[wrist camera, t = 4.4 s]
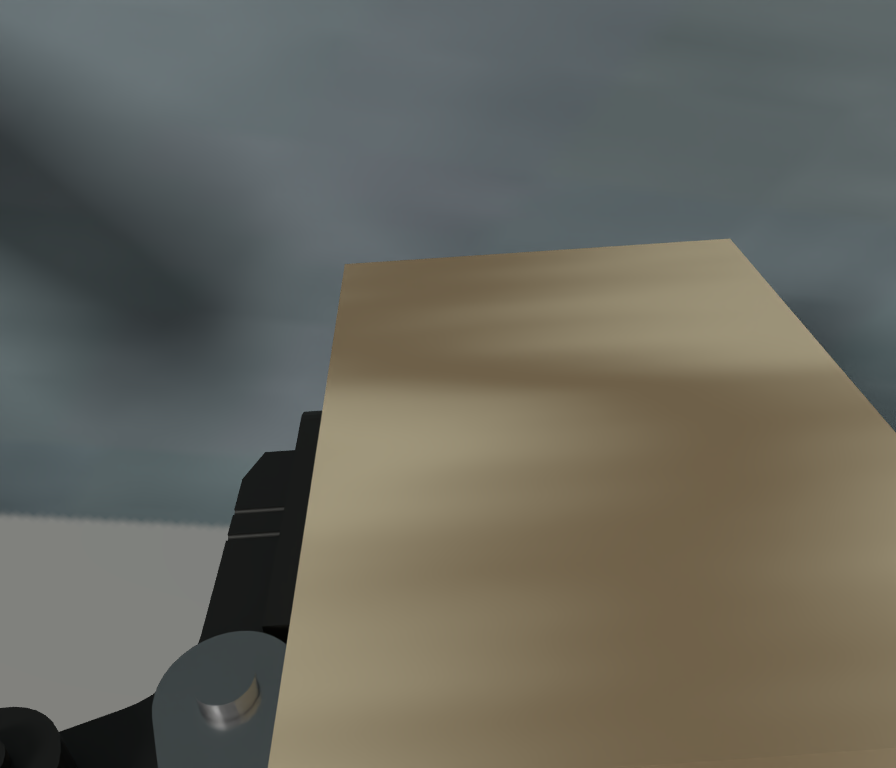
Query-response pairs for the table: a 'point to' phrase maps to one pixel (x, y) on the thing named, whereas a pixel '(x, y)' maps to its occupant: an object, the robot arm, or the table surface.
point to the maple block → (590, 525)
